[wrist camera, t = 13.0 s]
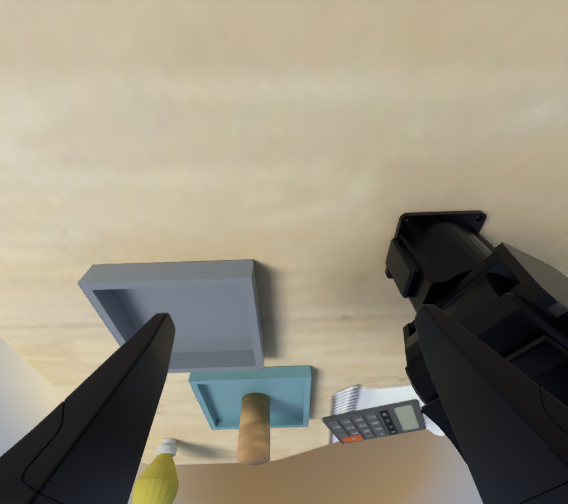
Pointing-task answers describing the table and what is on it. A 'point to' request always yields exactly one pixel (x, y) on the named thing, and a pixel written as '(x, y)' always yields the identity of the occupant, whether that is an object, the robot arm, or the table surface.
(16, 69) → the table surface
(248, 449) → the wooden peg
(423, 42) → the table surface
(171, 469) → the light bulb
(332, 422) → the calculator
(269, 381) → the tray
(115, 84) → the table surface
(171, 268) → the shallow gray bin
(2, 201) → the table surface
